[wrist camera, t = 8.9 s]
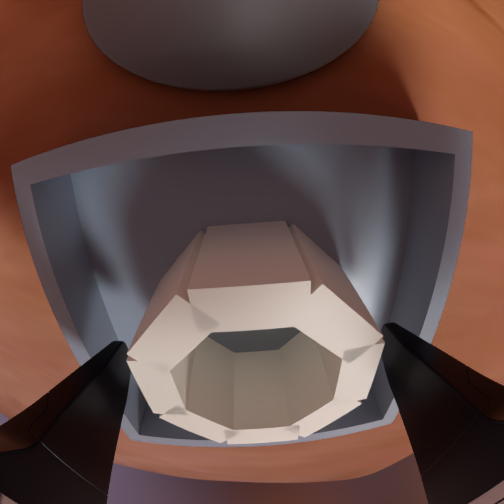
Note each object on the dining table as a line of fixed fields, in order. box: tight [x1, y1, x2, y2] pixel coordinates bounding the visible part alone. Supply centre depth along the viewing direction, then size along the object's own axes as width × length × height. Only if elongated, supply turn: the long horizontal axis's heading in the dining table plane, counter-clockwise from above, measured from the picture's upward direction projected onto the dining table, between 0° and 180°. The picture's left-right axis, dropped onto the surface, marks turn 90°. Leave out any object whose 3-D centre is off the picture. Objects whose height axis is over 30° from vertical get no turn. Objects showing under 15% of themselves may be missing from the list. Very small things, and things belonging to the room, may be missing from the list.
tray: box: [11, 111, 472, 447], centre depth 10 cm, size 14×14×3 cm
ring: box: [126, 221, 385, 444], centre depth 9 cm, size 7×9×4 cm
